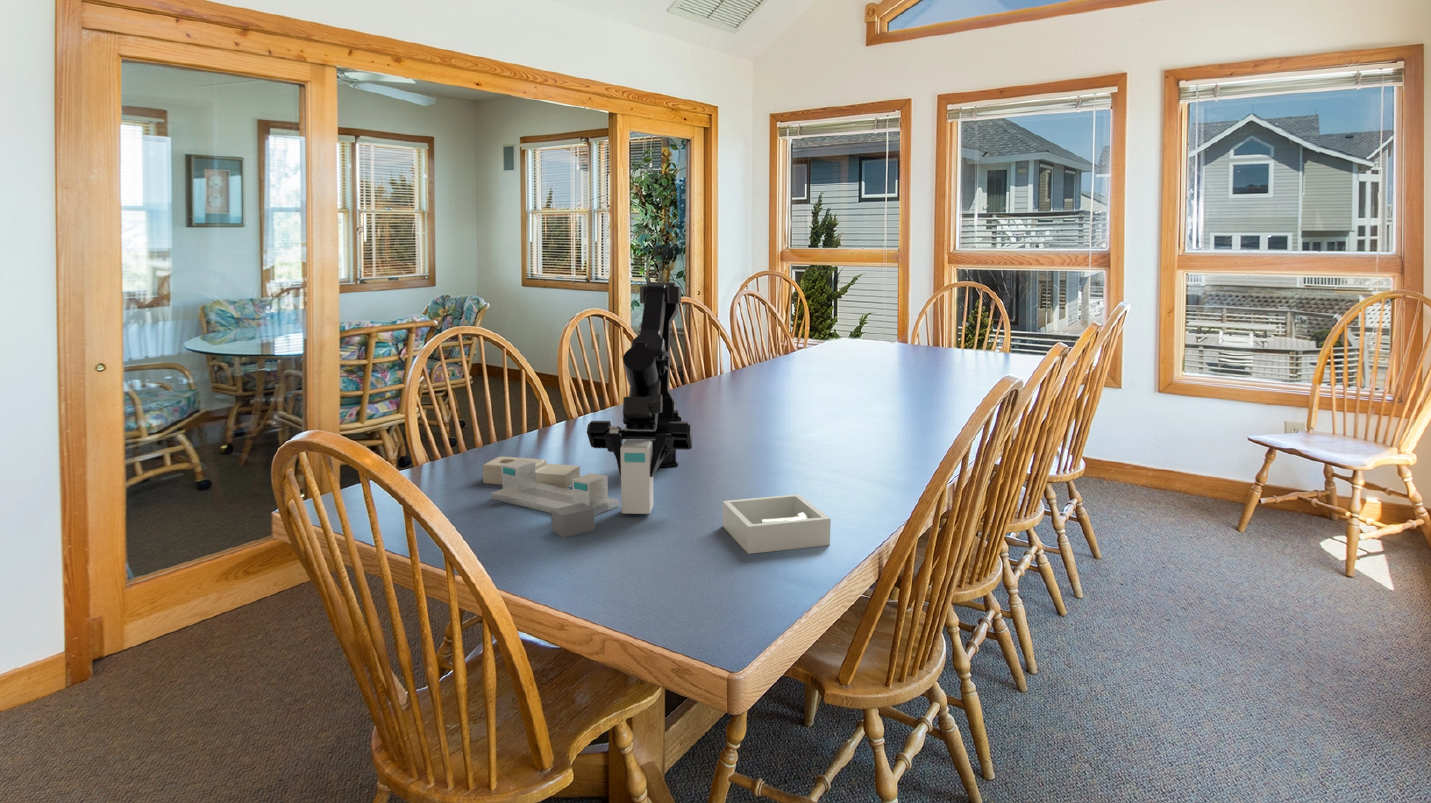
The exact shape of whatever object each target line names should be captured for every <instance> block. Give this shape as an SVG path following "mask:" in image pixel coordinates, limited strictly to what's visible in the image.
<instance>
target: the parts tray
mask: <svg viewBox="0 0 1431 803" xmlns="http://www.w3.org/2000/svg"><path fill="white" fill-rule="evenodd" d="M800 513H804V514H806V515H807V516H808V517H809V518H810V519H800V520H790V521H780V522H770V523H761V520H762V519H775V518H789V517H794V516H796V515H798V514H800ZM831 519H832V518H831V517H829V516H828V515H827V514H825V513H824V512H822V510H820V509H819V508H818V507H816V506H815V505H813V504H812V503H811V502H809V500H807V499H805V497H803V496H802V495H800V494H798V493H797V494H785V495H775V496H773V495H772V496H766V497H765V496H763V497H751V498H742V499H741V498H740V499H739V498H738V499H728V500H722V527H723V528H724V529H725V531H726V532H728V534H729V535H730V536H731V537H732V538H733V539H734V540H735V542H737V543H738V544H739V546H740V547H741V548H742V549H743V550H744V551H745V552H746V553H747V554H748V555H750V554H758V553H759V554H760V553H767V552H777V551H778V552H779V551H789V550H797V549H806V548H815V547H823V546H830V545H831V523H832V522H831Z"/></svg>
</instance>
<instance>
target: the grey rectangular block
mask: <svg viewBox="0 0 1431 803" xmlns="http://www.w3.org/2000/svg"><path fill="white" fill-rule="evenodd" d="M550 514H551V530H552V532H553V533H554V534H557V535H558V536H560V537H561V538H568V537H572V536H577V535H581V534H584V533H589V532H593V531H596V525H595V524H596V523H595V518H596V517H595V516H594V508H592V507H590V506H588V505H586V504H584V503H580V504H575V505H570V506H566V507H561V508H556V509H551V513H550Z"/></svg>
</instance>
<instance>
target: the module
mask: <svg viewBox="0 0 1431 803" xmlns="http://www.w3.org/2000/svg"><path fill="white" fill-rule="evenodd" d="M622 444H623V445H622V446H621V448H620V451H621V477H620V486H621V491H620V492H621V493H620V494H621V495H620V496H621V514H634V515H635V514H637V515H640V514H641V515H644V514H645V515H651V513H652V511H653V510H652V509H653V508H654V476H653V477H650V466H651V461H652V456H653V441H651V440H626V439H625V440H624V441H623V442H622Z"/></svg>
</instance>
